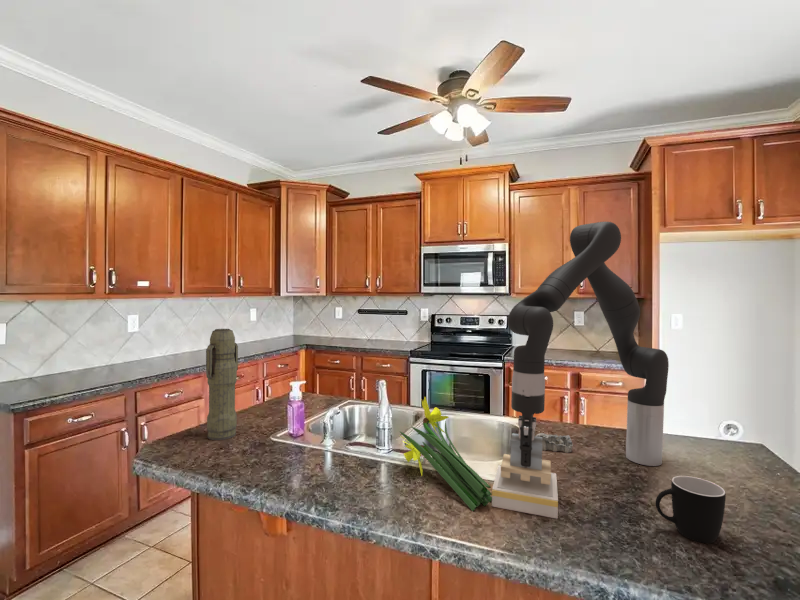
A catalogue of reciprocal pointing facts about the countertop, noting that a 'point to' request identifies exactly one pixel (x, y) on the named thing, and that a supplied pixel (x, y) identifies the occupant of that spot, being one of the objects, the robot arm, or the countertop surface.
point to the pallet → (526, 471)
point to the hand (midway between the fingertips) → (526, 460)
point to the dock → (525, 494)
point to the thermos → (222, 384)
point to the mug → (695, 507)
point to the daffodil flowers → (447, 461)
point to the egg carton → (556, 442)
